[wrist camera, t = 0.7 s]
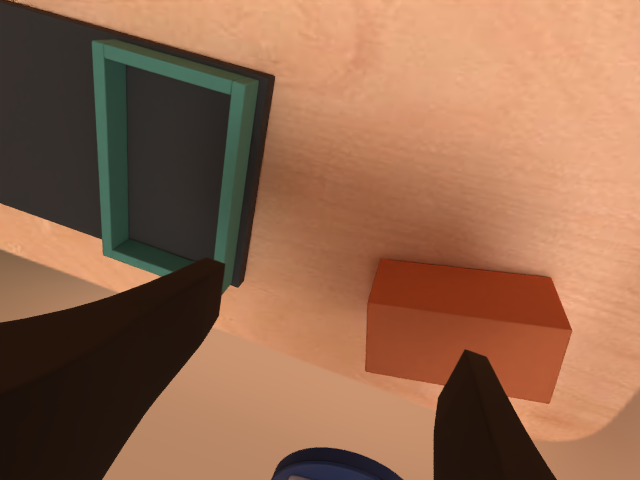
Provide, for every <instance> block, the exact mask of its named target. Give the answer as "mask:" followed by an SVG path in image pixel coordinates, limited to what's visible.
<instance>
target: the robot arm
mask: <svg viewBox="0 0 640 480" xmlns="http://www.w3.org/2000/svg"><path fill="white" fill-rule="evenodd" d="M224 272H225V263H222V262H219V261H216V260H213V259H210V258H208V257H206V258H204V259H201V260H199V261H197V262H194V263H192V264H190V265H188V266H185V267H183V268H181V269H179V270H176V271H174V272H172V273H169V274H167V275H165V276H162V277H160V278H158V279H155V280H153V281H151V282H148V283H146V284H143V285H140V286H138V287H135V288H132V289H130V290H127V291H124V292H122V293H119V294H116V295H113V296H110V297H108V298H104V299H101V300H98V301H95V302H91V303H88V304H84V305H81V306H77V307H74V308H70V309H66V310H62V311H57V312H52V313H48V314H44V315H39V316H34V317H30V318H25V319H20V320H14V321H8V322H2V323H0V480H102V479H103V477H104V476H105V474H106V472H107V471H108V469H109V468H110V466H111V465H112V463H113V462H114V460H115V458H116V457H117V455H118V454H119V452H120V451H121V449H122V447H123V446H124V444H125V443H126V441H127V440H128V438H129V437H130V435H131V434H132V432H133V431H134V429H135V428H136V427H137V425H138V424H139V422H140V421H141V419H142V418H143V416H144V415H145V413H146V412H147V411H148V409H149V408H150V407H151V405H152V404H153V403H154V401H155V400H156V399H157V398H158V396H159V395H160V394H161V393H162V391H163V390H164V389H165V388H166V387H167V385H168V384H169V383H170V382H171V381H172V379H173V378H174V377H175V376H176V375H177V373H178V372H179V371H180V370H181V368H182V367H183V366H184V365H185V364H186V362H187V361H188V360H189V359H190V357H191V356H192V355H193V354H194V353H195V351H196V350H197V349H198V348H199V346H200V345H201V344H202V342H203V341H204V339H205V338H206V336H207V334H208V333H209V331H210V330H211V328H212V326H213V325H214V323H215V321H216V320H217V318H218V316H219V310H220V303H221V295H222V287H223V280H224ZM288 480H312V479H308V478H304V477H300V476H296V475H291V476H290V477H289V479H288ZM434 480H557V479H556V478H555V476H554V475H553V473H552V472H551V470H550V469H549V467H548V466H547V464H546V463H545V461H544V460H543V458H542V456H541V455H540V453H539V451H538V450H537V448H536V447H535V445H534V443H533V442H532V440H531V438H530V437H529V435H528V433H527V432H526V430H525V428H524V426H523V425H522V423H521V421H520V419H519V417H518V416H517V414H516V412H515V410H514V408H513V406H512V405H511V403H510V401H509V399H508V397H507V395H506V393H505V391H504V389H503V387H502V385H501V383H500V381H499V379H498V377H497V375H496V373H495V371H494V370H493V368H492V366H491V364H490V362H489V360H488V358H487V357H486V356H483V355H480V354H478V353H475V352H472V351H469V350H466V349H465V350H464V351H463V353H462V355H461V357H460V359H459V361H458V362H457V364H456V366H455V368H454V370H453V372H452V373H451V375H450V377H449V379H448V381H447V383H446V384H445V386H444V388H443V390H442V392H441V394H440V395H439V397H438V403H437V410H436V418H435V426H434Z"/></svg>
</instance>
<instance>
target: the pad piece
mask: <svg viewBox="0 0 640 480" xmlns="http://www.w3.org/2000/svg"><path fill="white" fill-rule="evenodd" d="M571 333H572V329H571V326H570V324H569V321H568V319H567V316H566V314H565V311H564V309H563V306H562V304H561V301H560V299H559V296H558V294H557V291H556V289H555V286H554V284H553V281H552V279H551V278H550V277H540V276H531V275H522V274H513V273H504V272H495V271H486V270H477V269H468V268H458V267H449V266H440V265H431V264H422V263H413V262H404V261H395V260H385V259H380V262H379V266H378V269H377V272H376V276H375V279H374V283H373V286H372V290H371V293H370V296H369V300H368V305H367V334H366V364H365V371H366V372H371V373H376V374H382V375H388V376H393V377H399V378H405V379H410V380H416V381H422V382H427V383H433V384H439V385H444V386H445V384H446V383H447V381H448V379H449V377H450V375H451V373H452V372H453V370H454V368H455V366H456V364H457V362H458V361H459V359H460V357H461V355H462V353H463V351H464V350H465V349H466V350H469V351H472V352H475V353H478V354H480V355H483V356H486V357H487V358H488V360H489V362H490V364H491V366H492V368H493V370H494V371H495V373H496V375H497V377H498V379H499V381H500V383H501V385H502V387H503V389H504V391H505V393H506V395H507V397H512V398H518V399H524V400H529V401H535V402H541V403H546V404H549V403H550V401H551V398H552V394H553V391H554V388H555V385H556V382H557V378H558V375H559V372H560V369H561V365H562V362H563V359H564V356H565V352H566V349H567V346H568V343H569V340H570V336H571Z"/></svg>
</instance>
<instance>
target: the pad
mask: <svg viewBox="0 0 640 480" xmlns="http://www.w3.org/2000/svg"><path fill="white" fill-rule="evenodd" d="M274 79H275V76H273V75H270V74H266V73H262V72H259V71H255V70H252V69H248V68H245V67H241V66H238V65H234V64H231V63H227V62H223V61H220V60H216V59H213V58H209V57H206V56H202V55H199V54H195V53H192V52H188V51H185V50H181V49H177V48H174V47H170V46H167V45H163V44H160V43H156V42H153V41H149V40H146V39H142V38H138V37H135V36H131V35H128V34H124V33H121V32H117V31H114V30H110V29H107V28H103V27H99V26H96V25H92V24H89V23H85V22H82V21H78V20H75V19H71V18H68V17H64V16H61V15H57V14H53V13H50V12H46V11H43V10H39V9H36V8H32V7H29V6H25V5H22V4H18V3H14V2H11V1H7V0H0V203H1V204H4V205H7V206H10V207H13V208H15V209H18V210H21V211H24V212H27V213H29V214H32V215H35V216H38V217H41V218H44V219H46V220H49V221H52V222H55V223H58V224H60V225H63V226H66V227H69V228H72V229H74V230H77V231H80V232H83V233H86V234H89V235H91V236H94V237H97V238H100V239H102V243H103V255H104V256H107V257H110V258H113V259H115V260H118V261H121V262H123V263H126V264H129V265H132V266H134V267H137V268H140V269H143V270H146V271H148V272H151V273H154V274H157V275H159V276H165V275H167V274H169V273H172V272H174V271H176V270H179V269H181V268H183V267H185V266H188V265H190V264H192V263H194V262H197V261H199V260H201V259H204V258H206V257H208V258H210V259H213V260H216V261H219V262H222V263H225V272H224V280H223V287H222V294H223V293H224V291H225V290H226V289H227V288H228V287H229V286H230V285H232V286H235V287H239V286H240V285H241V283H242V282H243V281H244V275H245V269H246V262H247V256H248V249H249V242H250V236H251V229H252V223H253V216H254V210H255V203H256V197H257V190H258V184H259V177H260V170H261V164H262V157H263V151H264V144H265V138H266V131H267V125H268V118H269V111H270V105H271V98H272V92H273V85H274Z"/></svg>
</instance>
